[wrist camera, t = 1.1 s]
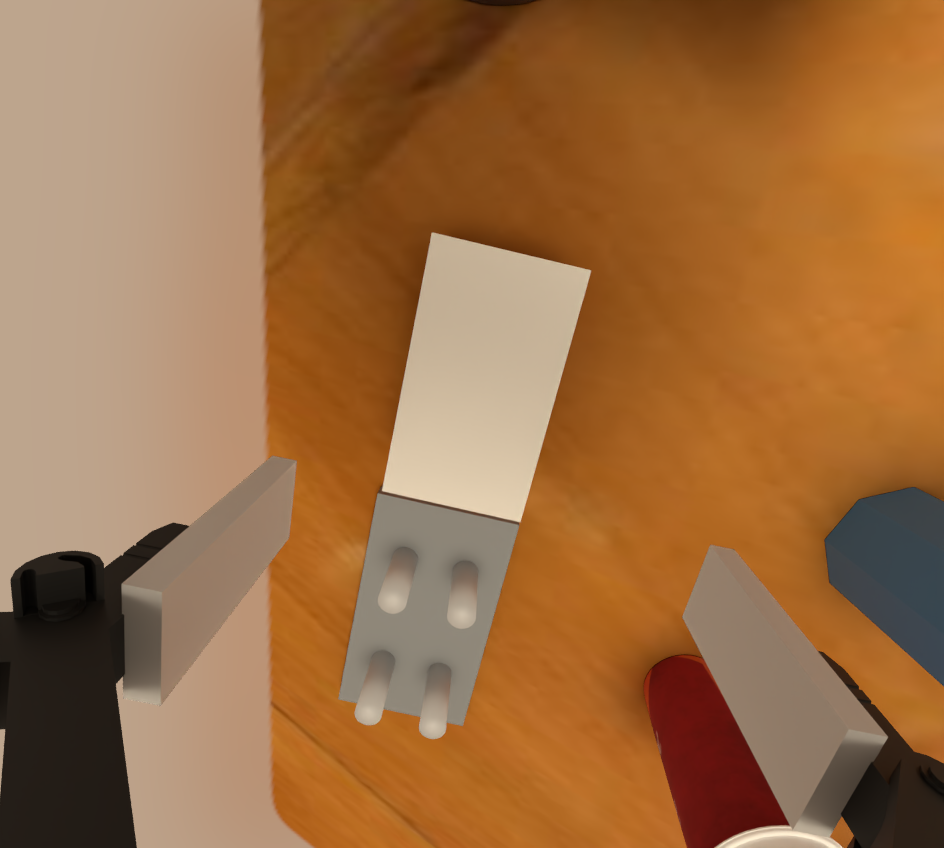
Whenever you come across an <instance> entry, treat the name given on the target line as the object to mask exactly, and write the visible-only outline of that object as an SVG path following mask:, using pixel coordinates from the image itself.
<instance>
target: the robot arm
mask: <svg viewBox="0 0 944 848" xmlns="http://www.w3.org/2000/svg"><path fill="white" fill-rule="evenodd" d="M471 1H474V2H479V3H484V4H492V5H513V4H521V3H527V2H531V1H535V0H471ZM296 464H297V461H296V460H291V459H286V458H281V457H276V456H272V457H270V458H269V459H268V460H267V461H266V462H265V463H263V464H262V465H261V466H260V467H259V468H257V469H256V470H255V471H254V472H253V473H252V474H250V475H249V476H248V477H247V478H246V479H245V480H243V481H242V482H241V483H240V484H239V485H237V486H236V487H235V488H234V489H233V490H232V491H230V492H229V493H228V494H227V495H226V496H225V497H223V498H222V499H221V500H220V501H219V502H217V503H216V504H215V505H214V506H213V507H212V508H210V509H209V510H208V511H207V512H206V513H204V514H203V515H202V516H201V517H200V518H199V519H197V520H196V521H195V522H194V523H193V524H192V525H190V526H187V525H182V524H176V523H171V524H169V525H166V526H164V527H161V528H159V529H157V530H154V531H152V532H151V533H149V534H148V535H147V536H145V537H144V538H143V539H141V540H140V541H139V542H137V543H136V546H134V545H133V546H132V547H131V548H130V549H128V550H127V551H126V552H124V554H123V556H119V557H118V558H117V559H115V560H114V561H113V562H111V563H110V564H109V565H108V566H106V567H105V568H104V563H103V562H102V560H101V559H100V557H98V556H96V555H94V554H92V553H89V552H81V551H66V552H56V553H52V554H48V555H44V556H40V557H38V558H36V559H34V560H31V561H29V562H26V563H25V564H24V565H22V566H21V567H20V568H18V569H17V570H16V571H15V572H14V574H13V576H12V578H11V590H12V601H13V612H0V729H5V743H4V755H3V768H2V781H1V794H0V848H137V847H136V838H135V831H134V823H133V815H132V808H131V800H130V792H129V784H128V776H127V769H126V761H125V753H124V746H123V738H122V730H121V723H120V714H119V707H118V699H117V691H116V683H117V682H118V681H119V680H120V679H121V678H122V677H123V698H124V699H129V700H134V701H139V702H144V703H149V704H154V705H159V706H161V705H162V703H163V702H164V701H165V699H166V698H167V697H168V695H169V694H170V693H171V692H172V690H173V689H174V688H175V686H176V685H177V684H178V682H179V681H180V680H181V679H182V677H183V676H184V675H185V673H186V672H187V671H188V669H189V668H190V667H191V665H192V664H193V663H194V662H195V660H196V659H197V657H198V656H199V655H200V654H201V652H202V651H203V650H204V648H205V647H206V646H207V645H208V643H209V642H210V641H211V639H212V638H213V637H214V635H215V634H216V633H217V632H218V630H219V629H220V628H221V626H222V625H223V624H224V622H225V621H226V620H227V618H228V617H229V616H230V615H231V613H232V612H233V610H234V609H235V608H236V607H237V605H238V604H239V603H240V601H241V600H242V599H243V597H244V596H245V595H246V594H247V592H248V591H249V590H250V588H251V587H252V586H253V584H254V583H255V582H256V581H257V579H258V578H259V577H260V575H261V574H262V573H263V571H264V570H265V569H266V567H267V566H268V565H269V564H270V562H271V561H272V560H273V558H274V557H275V556H276V554H277V553H278V552H279V550H280V549H281V548H282V547H283V545H284V544H285V543H286V541H287V540H288V539H289V534H290V524H291V514H292V504H293V494H294V484H295V474H296ZM682 618H683V620H684V621H685V623H686V625H687V627H688V629H689V631H690V633H691V635H692V637H693V639H694V641H695V643H696V645H697V647H698V649H699V650H700V652H701V654H702V656H703V658H704V660H705V662H706V664H707V666H708V668H709V670H710V672H711V674H712V676H713V678H714V679H715V681H716V683H717V685H718V687H719V689H720V691H721V693H722V695H723V697H724V699H725V701H726V703H727V705H728V707H729V708H730V710H731V712H732V714H733V716H734V718H735V720H736V722H737V724H738V726H739V728H740V730H741V732H742V734H743V736H744V737H745V739H746V741H747V743H748V745H749V747H750V749H751V751H752V753H753V755H754V757H755V759H756V761H757V763H758V765H759V766H760V768H761V770H762V772H763V774H764V776H765V778H766V780H767V782H768V784H769V786H770V788H771V790H772V792H773V794H774V796H775V797H776V799H777V801H778V803H779V805H780V807H781V809H782V811H783V813H784V815H785V817H786V819H787V821H788V823H789V825H790V826H791V828H792V830H793V831H798V832H803V833H808V834H813V835H818V836H823V837H828V838H829V837H830V835H831V833H832V832H833V830H834V828H835V827H836V825H837V823H838V821H839V820H840V818H841V816H842V817H843V818H844V820H845V822H846V823H847V825H848V827H849V828H850V830H851V831H852V833H853V835H854V837H853V839H852V840H851V842H850V843H849V845H848V847H847V848H944V764H943V763H941V762H939V761H937V760H935V759H933V758H931V757H929V756H927V755H923V754H920V753H916V752H914V751H913V750H912V749H911V747H910V746H909V745H908V744H907V743H906V742H905V740H904V739H903V738H902V737H901V736H900V734H899V733H898V732H897V731H896V730H895V729H894V727H893V726H892V725H891V724H890V723H889V722H888V720H887V719H886V718H885V717H884V716H883V714H882V713H881V712H880V711H879V710H878V709H877V707H876V706H875V705H873V704H871V700H870V699H869V698H868V697H867V696H866V694H865V693H864V692H863V691H862V690H859V686H858V685H857V684H856V683H855V682H854V680H853V679H852V678H851V677H850V676H849V674H848V673H847V672H846V671H845V670H844V669H843V668H842V667H841V666H840V665H838V664H837V663H836V662H835V661H833V660H832V659H831V658H830V657H828V656H827V655H826V654H825V653H823V652H820V651H817V650H816V649H815V647H814V646H813V645H812V644H811V642H810V641H809V640H808V639H807V638H806V636H805V635H804V634H803V633H802V631H801V630H800V629H799V628H798V627H797V625H796V624H795V623H794V622H793V621H792V619H791V618H790V617H789V616H788V614H787V613H786V612H785V611H784V610H783V608H782V607H781V606H780V605H779V603H778V602H777V601H776V600H775V599H774V597H773V596H772V595H771V594H770V592H769V591H768V590H767V589H766V588H765V586H764V585H763V584H762V583H761V582H760V580H759V579H758V578H757V577H756V575H755V574H754V573H753V572H752V571H751V569H750V568H749V567H748V566H747V564H746V563H745V562H744V561H743V560H742V558H741V557H740V556H739V555H738V554H737V552H736V551H735V550H734V549H729V548H724V547H719V546H714V545H710V547H709V550H708V552H707V555H706V557H705V560H704V563H703V565H702V568H701V570H700V573H699V575H698V578H697V581H696V583H695V586H694V588H693V591H692V593H691V596H690V599H689V601H688V604H687V606H686V609H685V611H684V614H683V617H682Z"/></svg>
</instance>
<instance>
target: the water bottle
mask: <svg viewBox="0 0 944 848" xmlns="http://www.w3.org/2000/svg"><path fill="white" fill-rule="evenodd" d="M825 547H826V556H827V564H828V573H829V581H830V584H831V585H833V586H834V587H835V588H836V589H837V590H838V591H839V592H840V593H841V594H843V595H844V596H845V597H846V598H847V599H848V600H849V601H850V602H851V603H852V604H854V605H855V606H856V607H857V608H858V609H859V610H860V611H861V612H862V613H863V614H865V615H866V616H867V617H868V618H869V619H870V620H871V621H872V622H873V623H875V624H876V625H877V626H878V627H879V628H880V629H881V630H882V631H883V632H884V633H886V634H887V635H888V636H889V637H890V638H891V639H892V640H893V641H894V642H895V643H897V644H898V645H899V646H900V647H901V648H902V649H903V650H904V651H905V652H907V653H908V654H909V655H910V656H911V657H912V658H913V659H914V660H915V661H916V662H918V663H919V664H920V665H921V666H922V667H923V668H924V669H925V670H926V671H927V672H929V673H930V674H931V675H932V676H933V677H934V678H935V679H936V680H937V681H939V682H940V683H941V684H942V685H943V686H944V502H943V501H941V500H939V499H937V498H935V497H933V496H931V495H929V494H927V493H925V492H923V491H921V490H919V489H917V488H915V487H911V488H907V489H903V490H898V491H894V492H890V493H885V494H881V495H877V496H872V497H868V498H863V499H859V500H858V501H857V502H856V504H855V505H854V506H853V507H852V508H851V510H850V511H849V512H848V513H847V514H846V515H845V517H844V518H843V519H842V520H841V521H840V522H839V524H838V525H837V526H836V527H835V528H834V530H833V531H832V532H831V533H830V534H829V535H828V537H827V538H826V539H825Z"/></svg>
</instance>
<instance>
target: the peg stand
mask: <svg viewBox="0 0 944 848" xmlns="http://www.w3.org/2000/svg"><path fill="white" fill-rule="evenodd" d="M382 489H383V487H382V486H381V488H380V490H379V492H378V494H377V499H376V505H375V510H374V515H373V520H372V526H371V531H370V536H369V541H368V547H367V552H366V557H365V562H364V568H363V573H362V578H361V583H360V589H359V594H358V599H357V604H356V610H355V615H354V620H353V625H352V631H351V636H350V641H349V646H348V652H347V657H346V662H345V667H344V673H343V678H342V683H341V688H340V694H339V699H340V700H344V701H349V702H354V703H357V706H356V709H355V717H356V719H357V720H358V721H359V722H360V723H362V724H364V725H374V724H376V723H378V722H379V721H380V719H381V716H382V712H383V709H386V710H391V711H396V712H400V713H405V714H410V715H414V716H419V717H421V718H420V724H419V730H420V732H421V734H422V735H423V736H425V737H427V738H430V739H437V738H440V737H441V736H443V735H444V733H445V731H446V723H452V724H456V725H461V726H463V723H464V720H465V716H466V713H467V709H468V706H469V702H470V698H471V695H472V691H473V688H474V684H475V681H476V677H477V674H478V670H479V666H480V663H481V659H482V656H483V652H484V649H485V645H486V642H487V638H488V634H489V631H490V627H491V624H492V620H493V617H494V613H495V610H496V606H497V602H498V599H499V595H500V592H501V588H502V585H503V581H504V578H505V574H506V571H507V567H508V563H509V560H510V556H511V553H512V549H513V546H514V542H515V539H516V535H517V531H518V528H519V522H517V521H513V520H508V519H504V518H499V517H495V516H490V515H486V514H481V513H477V512H473V511H468V510H464V509H459V508H455V507H450V506H446V505H442V504H437V503H433V502H428V501H424V500H419V499H415V498H410V497H406V496H402V495H397V494H393V493H388V492H384V491H382Z"/></svg>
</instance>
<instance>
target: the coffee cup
mask: <svg viewBox="0 0 944 848" xmlns="http://www.w3.org/2000/svg"><path fill="white" fill-rule="evenodd" d="M644 696H645V700H646V704H647V708H648V712H649V716H650V719H651V723H652V727H653V730H654V734H655V737H656V741H657V745H658V748H659V752H660V755H661V759H662V762H663V766H664V769H665V773H666V776H667V780H668V783H669V787H670V790H671V794H672V797H673V801H674V804H675V808H676V811H677V815H678V818H679V821H680V825H681V828H682V832H683V835H684V839H685V842H686V846H687V848H843V847H842V846H841V845H840V844H838V843H837V842H836V841H834V840H833V839H832V838H830V837H829V838H828V837H823V836H818V835H813V834H808V833H803V832H798V831H793V830H792V828H791V826H790V825H789V823H788V821H787V819H786V817H785V815H784V813H783V811H782V809H781V807H780V805H779V803H778V801H777V799H776V797H775V796H774V794H773V792H772V790H771V788H770V786H769V784H768V782H767V780H766V778H765V776H764V774H763V772H762V770H761V768H760V766H759V765H758V763H757V761H756V759H755V757H754V755H753V753H752V751H751V749H750V747H749V745H748V743H747V741H746V739H745V737H744V736H743V734H742V732H741V730H740V728H739V726H738V724H737V722H736V720H735V718H734V716H733V714H732V712H731V710H730V708H729V707H728V705H727V703H726V701H725V699H724V697H723V695H722V693H721V691H720V689H719V687H718V685H717V683H716V681H715V679H714V678H713V676H712V674H711V672H710V670H709V668H708V666H707V664H706V662H705V660H704V659H702V658H700V657H697V656H692V655H677V656H672V657H669V658H667V659H664V660H662V661H661V662H659V663H658V664H656V665H655V666H654V667H653V668H652V669H651V670H650V671H649V673H648V674H647V676H646V678H645V682H644Z"/></svg>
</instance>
